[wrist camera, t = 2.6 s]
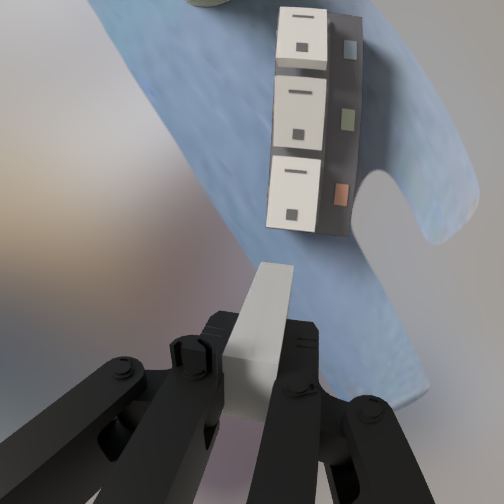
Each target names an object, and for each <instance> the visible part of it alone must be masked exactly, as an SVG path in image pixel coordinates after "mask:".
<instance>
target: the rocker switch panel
mask: <svg viewBox="0 0 504 504" xmlns="http://www.w3.org/2000/svg"><path fill="white" fill-rule="evenodd" d="M279 14H280V10H278V15H277V30H278V25H279ZM327 33H329V44H327V66H326V70H317V69H306V68H291V67H277V62H276V59H275V76H276V75H281V76H298V77H311V78H321V79H326V80H327V81H326V99H325V108H327V118H326V120H324V128H323V140H322V150H312V149H302V148H291V147H279V146H273V136H274V116H273V117H272V135H271V152H270V169H269V185H268V186H270V179H271V168H272V157H273V155H274V156H287V157H298V158H308V159H318V160H321V165H320V178H319V191H321V192H320V202H317V212H316V223H315V232H309V231H300V230H291V229H282V228H272V227H266V228H272V229H281V230H290V231H300V232H308V233H317V234H326V235H334V236H343V237H348V234H349V228H350V221H351V214H352V206H353V198H354V190H355V182H356V172H357V162H358V151H359V139H360V125H361V108H362V81H363V28H362V17H357V16H350V15H343V14H335V13H327ZM276 48H277V40H276ZM274 92H275V80H274ZM273 104H274V99H273ZM268 200H269V197H268ZM267 211H268V201H267ZM266 221H267V217H266Z"/></svg>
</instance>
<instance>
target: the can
mask: <svg viewBox="0 0 504 504" xmlns="http://www.w3.org/2000/svg"><path fill="white" fill-rule="evenodd" d="M185 1H186V2H187V3H189V4H192V5H195V6H201V7H210V6H216V5H220V4H223V3H226V2H228V1H230V0H185Z"/></svg>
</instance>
